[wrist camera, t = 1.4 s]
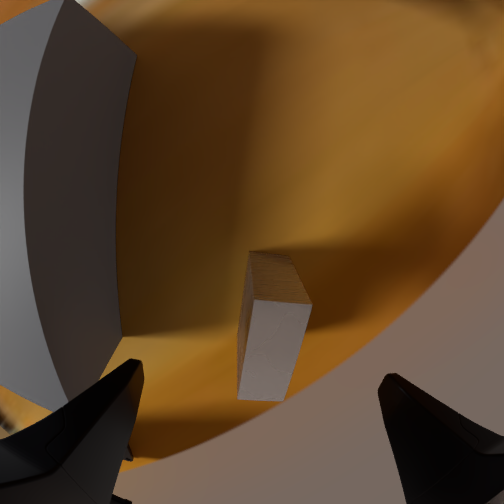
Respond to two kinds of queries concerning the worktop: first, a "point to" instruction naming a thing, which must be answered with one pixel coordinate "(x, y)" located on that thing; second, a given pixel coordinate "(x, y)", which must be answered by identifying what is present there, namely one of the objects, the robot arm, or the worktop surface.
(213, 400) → the worktop surface
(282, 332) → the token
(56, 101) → the coin box
